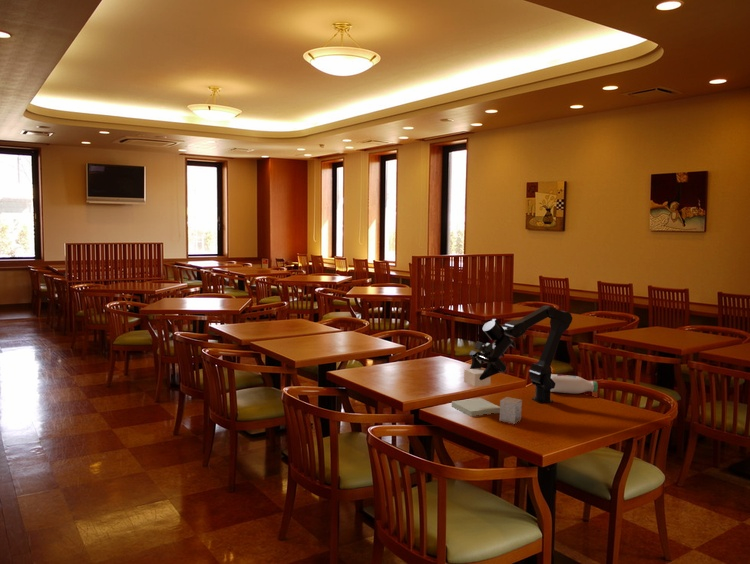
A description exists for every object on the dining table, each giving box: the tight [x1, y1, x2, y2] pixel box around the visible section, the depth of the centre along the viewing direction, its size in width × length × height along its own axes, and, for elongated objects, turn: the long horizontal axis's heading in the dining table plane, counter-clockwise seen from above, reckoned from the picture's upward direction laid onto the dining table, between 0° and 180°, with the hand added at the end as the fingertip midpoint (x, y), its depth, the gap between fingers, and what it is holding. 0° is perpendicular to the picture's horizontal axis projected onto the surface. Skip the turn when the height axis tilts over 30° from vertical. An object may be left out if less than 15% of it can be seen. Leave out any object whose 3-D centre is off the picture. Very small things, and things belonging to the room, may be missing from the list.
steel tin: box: [498, 396, 523, 425], centre depth 228 cm, size 6×6×8 cm
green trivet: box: [451, 397, 500, 417], centre depth 242 cm, size 14×14×2 cm
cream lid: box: [463, 368, 492, 387], centre depth 241 cm, size 7×7×5 cm
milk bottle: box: [550, 374, 599, 395], centre depth 269 cm, size 8×8×20 cm
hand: (474, 377), depth 240 cm, fingers closed on cream lid, 7 cm apart
